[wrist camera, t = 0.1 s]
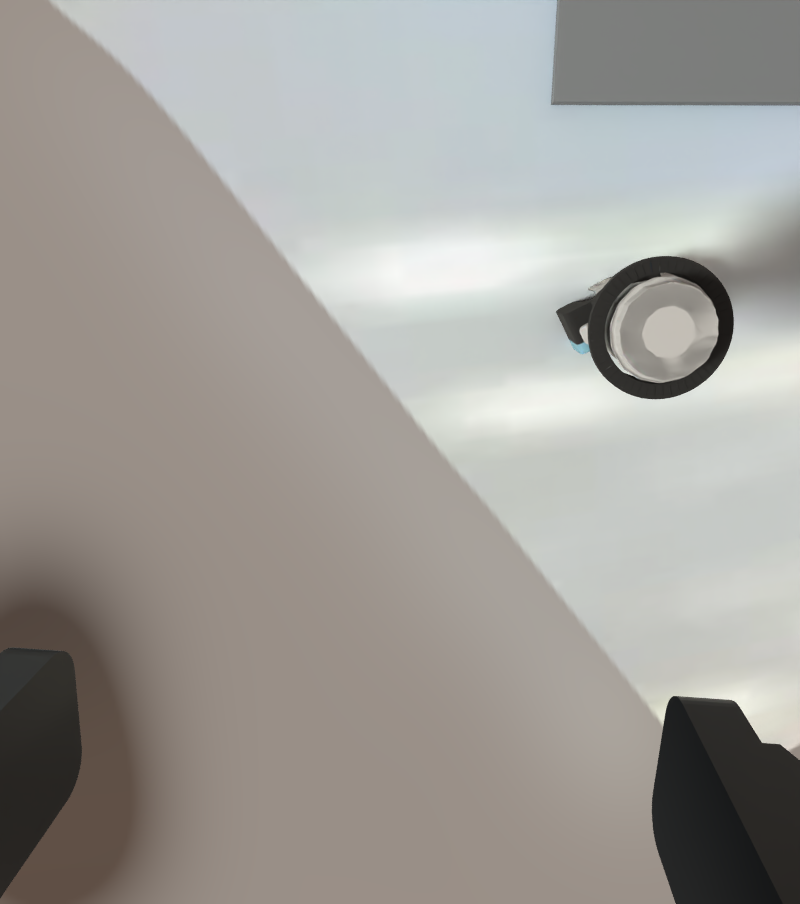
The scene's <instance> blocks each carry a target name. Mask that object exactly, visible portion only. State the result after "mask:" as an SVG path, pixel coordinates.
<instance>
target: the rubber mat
mask: <svg viewBox="0 0 800 904" xmlns="http://www.w3.org/2000/svg"><path fill="white" fill-rule="evenodd" d="M551 105H800V0H557V14H556V31H555V48H554V65H553V82H552V99H551Z"/></svg>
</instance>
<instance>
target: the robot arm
mask: <svg viewBox="0 0 800 904" xmlns="http://www.w3.org/2000/svg"><path fill="white" fill-rule="evenodd" d="M81 756H82V746H81V735H80V725H79V713H78V702H77V692H76V680H75V670H74V663H73V660H72V658H71V656H70V655H69V654H68V653H67V652H65V651H54V650H39V649H27V648H8V649H6V650H4V651H3V652H1V653H0V898H1V896H2V895H3V893H4V892H5V890H6V889H7V887H8V886H9V885H10V883H11V882H12V880H13V879H14V877H15V876H16V874H17V873H18V871H19V870H20V869H21V867H22V866H23V864H24V863H25V861H26V860H27V858H28V857H29V855H30V854H31V852H32V851H33V850H34V848H35V847H36V845H37V844H38V842H39V841H40V839H41V838H42V837H43V835H44V834H45V832H46V831H47V829H48V828H49V826H50V825H51V824H52V822H53V821H54V819H55V818H56V816H57V815H58V813H59V812H60V810H61V809H62V807H63V806H64V805H65V803H66V802H67V800H68V798H69V797H70V795H71V793H72V791H73V789H74V786H75V784H76V780H77V778H78V774H79V770H80V765H81ZM652 821H653V831H654V837H655V842H656V846H657V850H658V853H659V856H660V858H661V862H662V865H663V867H664V870H665V873H666V876H667V879H668V882H669V885H670V888H671V891H672V894H673V897H674V900H675V903H676V904H800V760H798V759H797V758H796V757H795V756H793V755H792V754H791V753H790V752H789V751H787V750H786V749H785V748H784V747H782V746H781V745H780V744H767V743H762V742H761V741H760V739H759V738H758V736H757V734H756V733H755V731H754V730H753V728H752V726H751V725H750V723H749V722H748V720H747V718H746V717H745V715H744V714H743V712H742V710H741V709H740V707H739V706H738V704H737V703H736V702H734V701H732V700H722V699H708V698H694V697H680V696H673V697H672V698H671V699H670V700H669V702H668V705H667V708H666V713H665V719H664V726H663V732H662V739H661V745H660V751H659V758H658V765H657V770H656V777H655V783H654V790H653V797H652Z"/></svg>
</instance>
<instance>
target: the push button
mask: <svg viewBox="0 0 800 904" xmlns="http://www.w3.org/2000/svg"><path fill="white" fill-rule="evenodd" d="M588 289H589V290H591V291H594V293H595V296H594V298H592V299H590V300H588V301H581V302H572V303H570V304H568V305H566V306H564V307H562V308H560V309H558V310H557V311H556V313H557V315H558V317H559V319H560V321H561V323H562V325H563V327H564V329H565V332H566V334H567V336H568V338H569V340H570V342H571V344H572V346H573V348H574V350H576V351H577V352H579V353H580V354H584V353H587V352H589V351H590V353H591V356H592V358H593V360H594V363H595V365H596V366H597V368H598V369H599V371H600V372H601V373H602V375H603V376H604V377H605V378H606V379H607V380H608V381H609V382H610V383H612V384H613V385H614V386H615V387H617V388H618V389H620V390H622V391H624V392H626V393H628V394H630V395H633V396H636V397H640V398H646V399H665V398H671V397H675V396H678V395H681V394H684V393H686V392H688V391H690V390H692V389H694V388H696V387H697V386H699V385H700V384H702V383H703V382H704V381H705V380H707V379H708V378H709V377H710V376H711V375H712V374H713V373H714V371H715V370H716V369H717V368H718V367H719V365H720V364H721V362H722V361H723V359H724V357H725V355H726V353H727V351H728V349H729V346H730V343H731V339H732V334H733V326H734V317H733V309H732V305H731V301H730V298H729V296H728V294H727V292H726V290H725V288H724V286H723V285H722V283H721V282H720V281H719V279H718V278H717V277H716V276H715V275H714V274H713V273H712V272H711V271H709V270H708V269H707V268H705V267H704V266H702V265H700V264H698V263H696V262H694V261H691V260H688V259H685V258H680V257H671V256H659V257H651V258H647V259H643V260H640V261H638V262H635V263H633V264H631V265H629V266H627V267H626V268H624V269H622V270H621V271H620V272H618V273H617V274H616V275H614V276H613V277H612V278H607V279H605V280H603V281H601V282H599V283H597V284H595V285H593V286H591V287H590V288H588ZM608 352H609V353H610V354H611V355H612V356H614V357H615V358H616V359H617V360H618V362H619V364H620V365H621V366H622V367H623V368H624V369H625V370H626V371H628V372H629V373H631V374H632V375H633V376H631V375H628V374H625V373H623V372H622V371H621V370H620V369H619V368H618V367H617V366H616V365H615V364H614V362H613V360H612V359H611V357H610V355H609V353H608Z"/></svg>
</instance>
